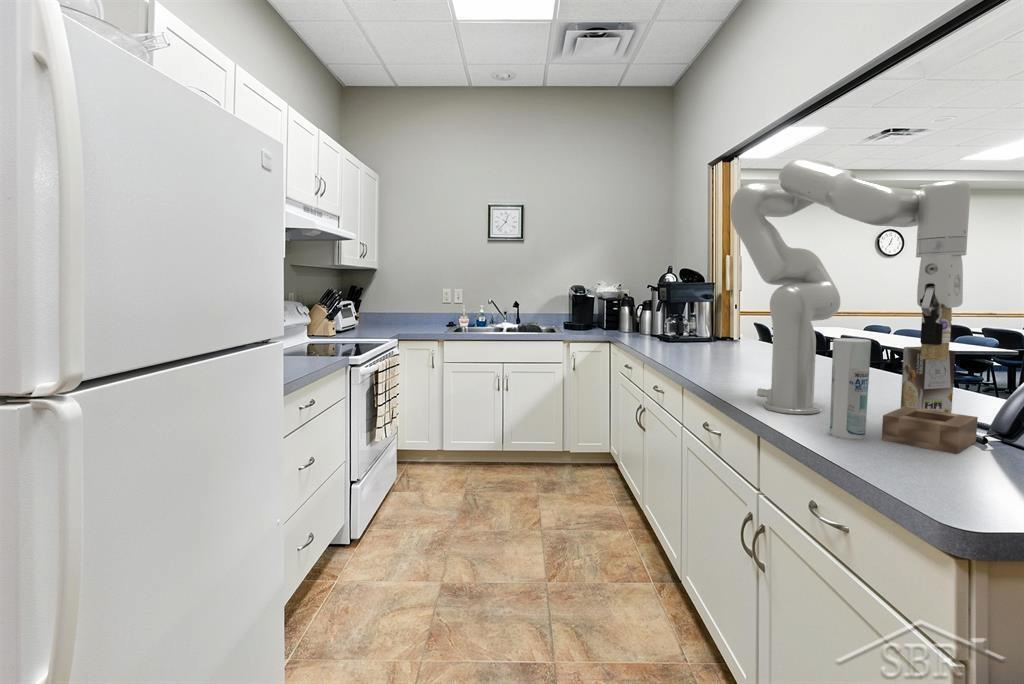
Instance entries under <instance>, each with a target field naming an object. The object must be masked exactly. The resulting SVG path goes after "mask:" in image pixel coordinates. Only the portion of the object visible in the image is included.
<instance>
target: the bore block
mask: <svg viewBox="0 0 1024 684" xmlns="http://www.w3.org/2000/svg"><path fill="white" fill-rule="evenodd" d="M978 418H979V416H972V415H965V414H959V413H953V412H951V413H946V412H939V411H932V410H925V409H918V408H911V407H902V408H901V407H900V408H898V409H895V410H893V411H890V412H888V413H885V414H883V415H882V422H881V423H882V425H881V428H882V429H881V440H883V441H888V442H893V443H897V444H898V443H899V444H903V445H909V446H913V447H919V448H923V449H924V448H925V449H930V450H935V451H939V452H944V453H951V454H956V455H959V453H961V452H963V451H964V450H966V449H968V448H969V447H970V446H972V445H973V444H975V443H976V442H977V432H978Z"/></svg>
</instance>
